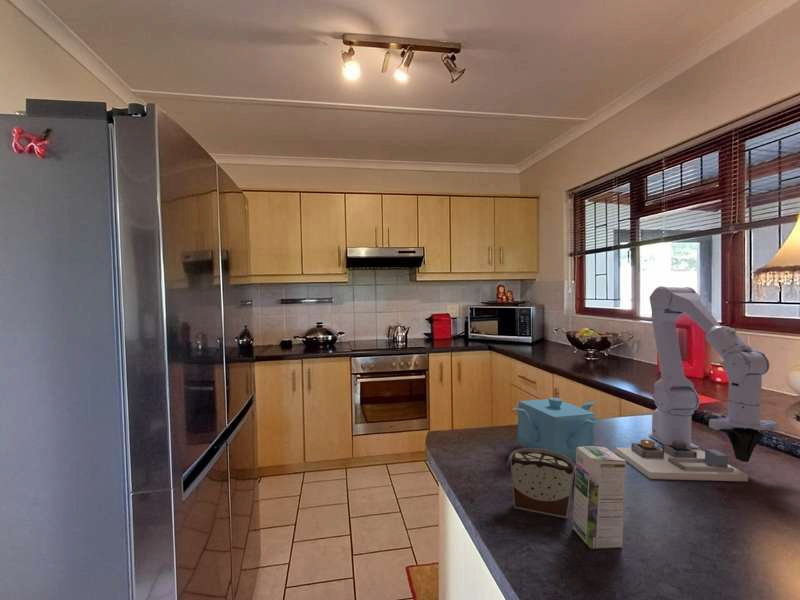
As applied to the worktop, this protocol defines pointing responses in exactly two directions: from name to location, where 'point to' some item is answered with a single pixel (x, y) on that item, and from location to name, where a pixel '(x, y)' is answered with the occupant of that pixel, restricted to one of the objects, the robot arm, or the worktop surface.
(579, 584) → the worktop surface
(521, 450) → the food container
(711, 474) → the control panel
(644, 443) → the copper button
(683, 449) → the black button
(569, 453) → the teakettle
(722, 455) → the block
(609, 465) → the syrup box
